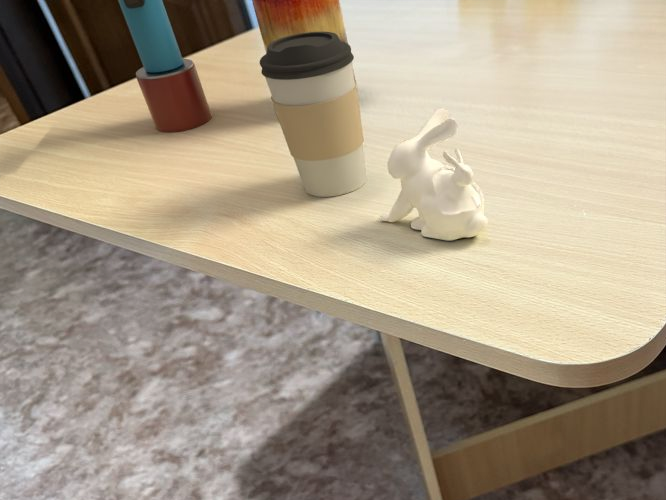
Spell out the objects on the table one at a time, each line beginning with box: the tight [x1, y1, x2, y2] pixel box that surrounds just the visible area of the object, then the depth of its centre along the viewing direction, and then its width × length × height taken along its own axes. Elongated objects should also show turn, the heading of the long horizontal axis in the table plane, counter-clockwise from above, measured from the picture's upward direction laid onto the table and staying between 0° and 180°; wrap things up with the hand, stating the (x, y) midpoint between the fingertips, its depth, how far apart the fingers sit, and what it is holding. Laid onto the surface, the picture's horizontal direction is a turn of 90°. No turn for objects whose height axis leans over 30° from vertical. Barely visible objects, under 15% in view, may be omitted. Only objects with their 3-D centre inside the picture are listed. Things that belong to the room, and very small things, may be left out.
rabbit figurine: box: [377, 107, 489, 241], centre depth 63 cm, size 12×8×10 cm, turn 47°
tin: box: [135, 58, 213, 133], centre depth 94 cm, size 8×8×7 cm
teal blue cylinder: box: [117, 0, 184, 73], centre depth 87 cm, size 5×5×12 cm
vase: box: [251, 0, 359, 93], centre depth 90 cm, size 11×11×20 cm
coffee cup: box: [259, 32, 368, 198], centre depth 70 cm, size 9×9×15 cm
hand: (140, 1), depth 86 cm, fingers closed on teal blue cylinder, 5 cm apart
